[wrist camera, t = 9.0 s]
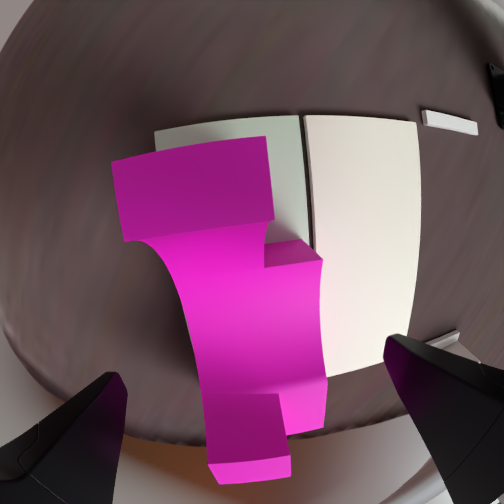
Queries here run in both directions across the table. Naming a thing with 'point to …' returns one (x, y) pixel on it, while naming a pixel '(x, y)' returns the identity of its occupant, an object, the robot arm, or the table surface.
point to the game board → (345, 217)
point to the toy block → (234, 297)
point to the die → (460, 351)
